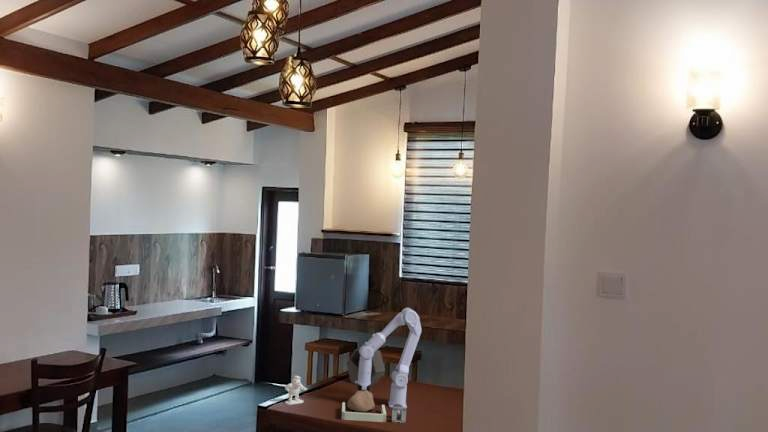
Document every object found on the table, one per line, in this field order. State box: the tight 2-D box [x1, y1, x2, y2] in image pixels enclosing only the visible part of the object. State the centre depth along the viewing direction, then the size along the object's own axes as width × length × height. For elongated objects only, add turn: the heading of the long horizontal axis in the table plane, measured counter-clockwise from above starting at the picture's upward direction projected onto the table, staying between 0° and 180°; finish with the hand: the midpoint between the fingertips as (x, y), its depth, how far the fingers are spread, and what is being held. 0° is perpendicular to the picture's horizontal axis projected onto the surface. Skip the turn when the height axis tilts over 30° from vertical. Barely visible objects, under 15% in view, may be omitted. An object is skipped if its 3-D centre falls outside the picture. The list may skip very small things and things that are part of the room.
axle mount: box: [391, 406, 407, 424], centre depth 290 cm, size 2×6×6 cm, turn 93°
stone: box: [346, 389, 376, 413], centre depth 306 cm, size 12×9×10 cm
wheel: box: [391, 404, 403, 419], centre depth 295 cm, size 6×5×5 cm
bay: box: [341, 401, 387, 423], centre depth 296 cm, size 16×18×3 cm
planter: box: [346, 348, 386, 387], centre depth 355 cm, size 17×8×21 cm
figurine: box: [284, 375, 308, 406], centre depth 308 cm, size 9×7×12 cm
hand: (362, 402), depth 314 cm, fingers closed
